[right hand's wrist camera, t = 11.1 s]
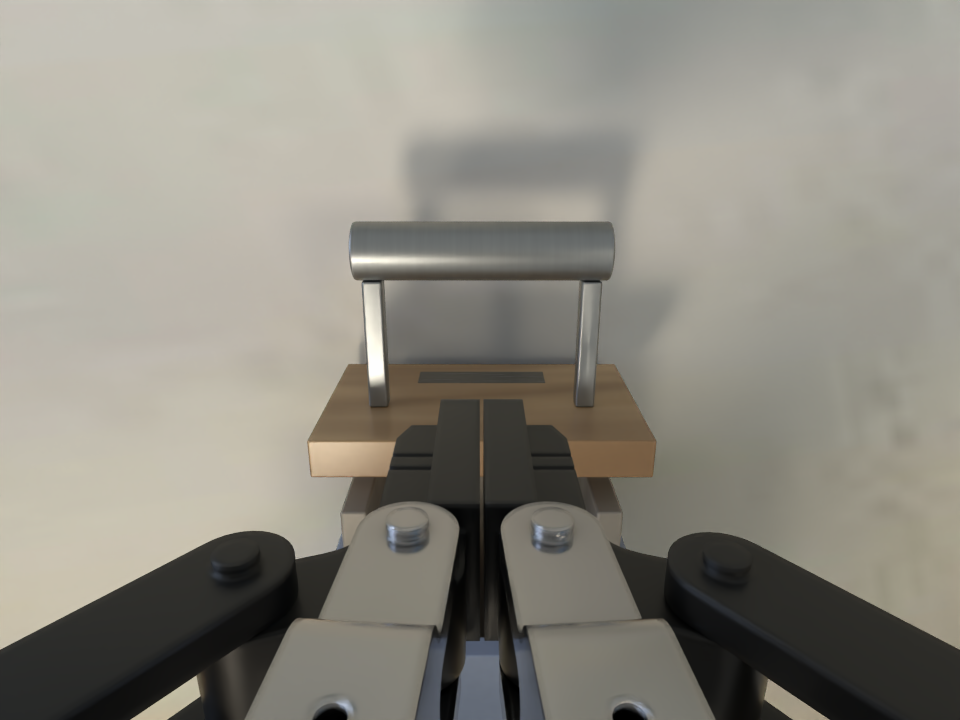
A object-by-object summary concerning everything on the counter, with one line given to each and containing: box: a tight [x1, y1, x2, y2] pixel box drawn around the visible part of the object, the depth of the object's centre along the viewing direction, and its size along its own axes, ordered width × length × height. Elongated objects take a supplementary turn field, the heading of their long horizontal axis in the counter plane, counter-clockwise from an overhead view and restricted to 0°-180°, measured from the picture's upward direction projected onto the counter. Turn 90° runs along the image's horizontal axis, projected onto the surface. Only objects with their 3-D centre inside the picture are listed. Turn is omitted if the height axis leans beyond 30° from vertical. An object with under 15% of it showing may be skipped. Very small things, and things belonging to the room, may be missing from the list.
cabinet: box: [336, 534, 626, 720], centre depth 26 cm, size 14×11×8 cm
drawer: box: [307, 222, 656, 637], centre depth 23 cm, size 18×10×6 cm, turn 0°
